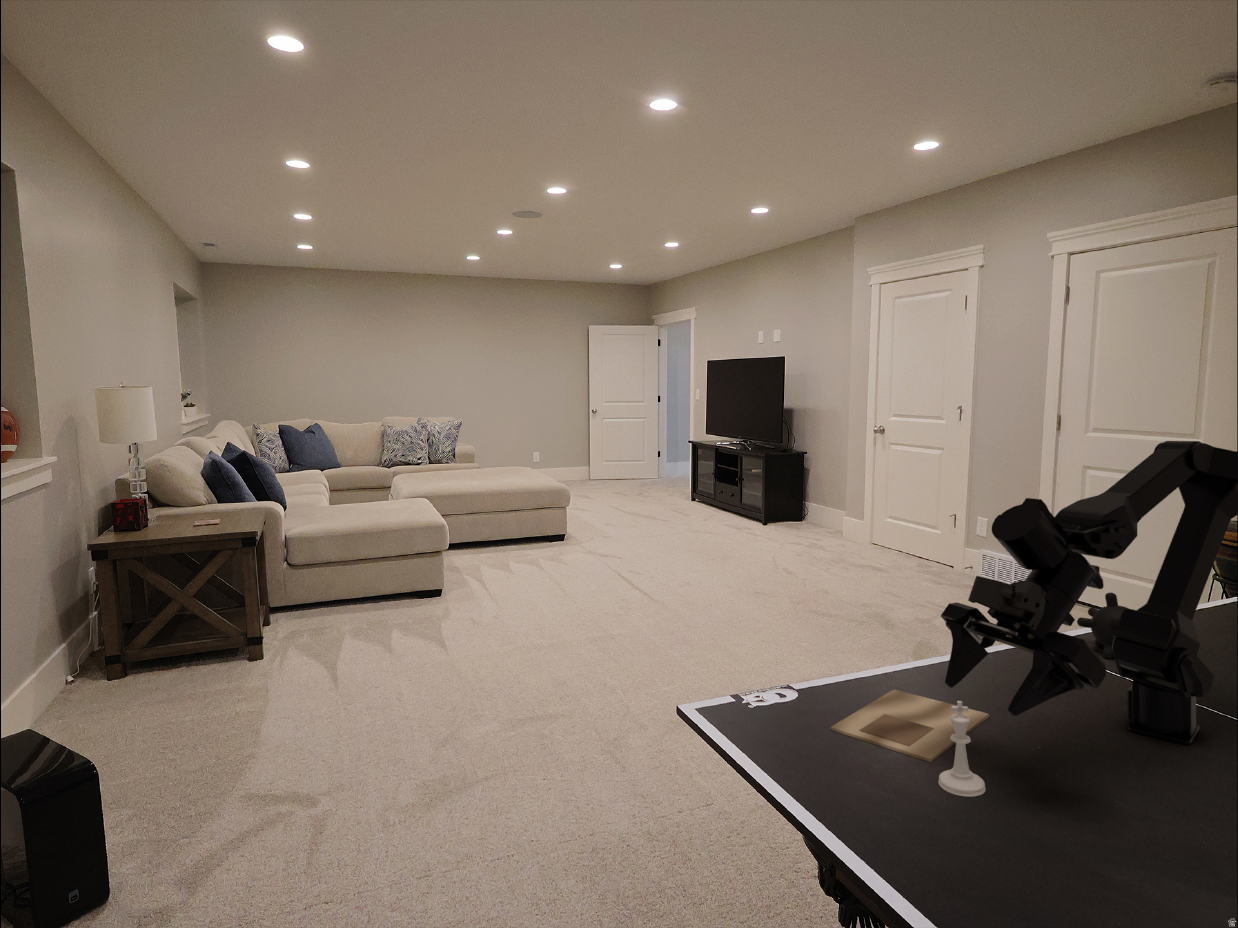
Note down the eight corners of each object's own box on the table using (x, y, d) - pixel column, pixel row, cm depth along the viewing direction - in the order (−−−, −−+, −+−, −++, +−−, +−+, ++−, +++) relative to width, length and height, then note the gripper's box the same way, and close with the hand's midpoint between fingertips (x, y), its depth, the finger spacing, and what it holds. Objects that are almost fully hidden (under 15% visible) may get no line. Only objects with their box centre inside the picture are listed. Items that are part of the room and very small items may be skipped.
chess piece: (991, 798, 80) (989, 710, 80) (944, 795, 81) (941, 709, 81) (978, 776, 85) (976, 693, 84) (934, 774, 86) (931, 692, 85)
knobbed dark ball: (1106, 651, 116) (1052, 613, 127) (1136, 685, 119) (1081, 646, 130) (1157, 606, 114) (1098, 572, 126) (1187, 642, 118) (1126, 606, 129)
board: (988, 716, 101) (988, 713, 101) (930, 762, 89) (930, 758, 89) (894, 691, 111) (894, 688, 111) (830, 729, 99) (830, 726, 99)
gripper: (951, 540, 93) (882, 635, 90) (1086, 565, 75) (1006, 685, 72) (998, 592, 96) (934, 686, 93) (1139, 629, 78) (1065, 746, 75)
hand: (977, 698), depth 83 cm, fingers open, 9 cm apart
